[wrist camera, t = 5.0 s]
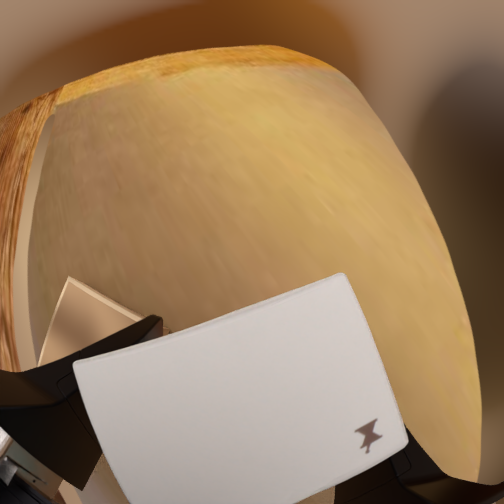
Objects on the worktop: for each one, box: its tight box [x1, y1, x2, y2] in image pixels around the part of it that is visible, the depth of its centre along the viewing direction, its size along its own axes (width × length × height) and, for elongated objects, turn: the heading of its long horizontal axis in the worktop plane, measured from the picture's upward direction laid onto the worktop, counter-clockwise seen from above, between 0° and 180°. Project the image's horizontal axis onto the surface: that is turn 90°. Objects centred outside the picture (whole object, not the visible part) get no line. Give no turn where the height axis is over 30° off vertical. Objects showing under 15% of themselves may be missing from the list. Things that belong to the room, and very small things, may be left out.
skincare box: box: [73, 273, 409, 504], centre depth 9 cm, size 6×4×12 cm
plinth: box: [37, 276, 170, 367], centre depth 19 cm, size 10×10×3 cm
